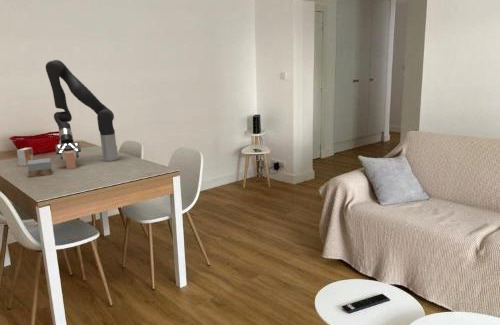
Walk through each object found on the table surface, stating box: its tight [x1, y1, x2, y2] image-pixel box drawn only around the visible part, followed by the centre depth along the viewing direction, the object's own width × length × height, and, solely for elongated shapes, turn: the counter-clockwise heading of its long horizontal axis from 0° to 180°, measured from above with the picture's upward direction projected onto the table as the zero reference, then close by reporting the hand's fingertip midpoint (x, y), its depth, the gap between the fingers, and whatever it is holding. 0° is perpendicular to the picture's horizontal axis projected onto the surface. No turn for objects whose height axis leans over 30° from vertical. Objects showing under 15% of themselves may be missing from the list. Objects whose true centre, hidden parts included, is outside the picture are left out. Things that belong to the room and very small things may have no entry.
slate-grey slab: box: [27, 157, 52, 172], centre depth 249 cm, size 12×12×4 cm
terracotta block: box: [64, 150, 77, 170], centre depth 261 cm, size 5×5×10 cm
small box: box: [16, 147, 35, 167], centre depth 274 cm, size 8×6×10 cm
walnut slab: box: [27, 169, 53, 178], centre depth 250 cm, size 12×12×4 cm
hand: (69, 157), depth 260 cm, fingers open, 8 cm apart
